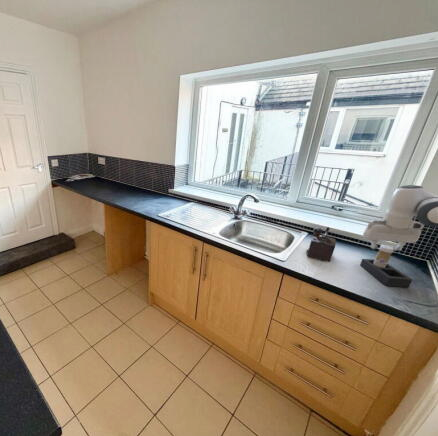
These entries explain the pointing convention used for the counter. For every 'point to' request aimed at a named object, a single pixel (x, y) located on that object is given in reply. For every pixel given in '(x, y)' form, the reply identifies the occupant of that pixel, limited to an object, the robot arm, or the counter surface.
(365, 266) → the holder
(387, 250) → the sprinkles bottle
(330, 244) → the brown coffee grinder
